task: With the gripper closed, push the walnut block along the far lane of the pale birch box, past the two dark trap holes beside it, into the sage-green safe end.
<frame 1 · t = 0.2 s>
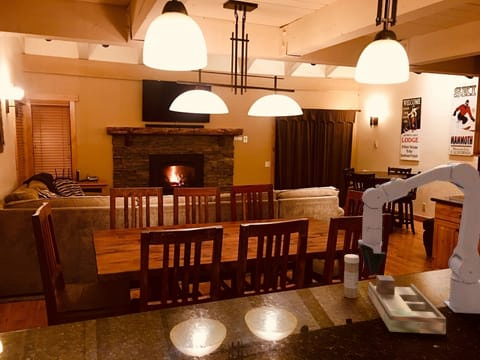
hand: (371, 270, 123), 10 cm above the countertop, tool pointing down, fingers open, 7 cm apart
sprinkles bottle: (350, 296, 128), on the countertop
walnut block: (385, 291, 124), point 3 cm above the countertop, touching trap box
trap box: (402, 312, 116), on the countertop
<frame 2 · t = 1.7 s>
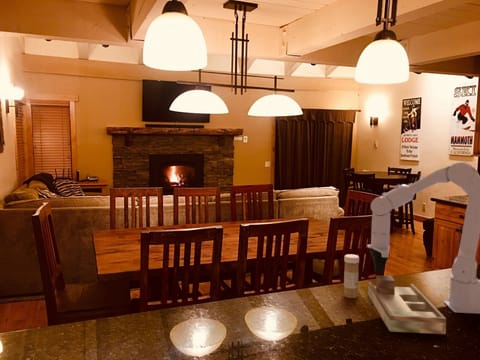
hand: (378, 272, 131), 7 cm above the countertop, tool pointing down, fingers closed
nothing on the countertop moved.
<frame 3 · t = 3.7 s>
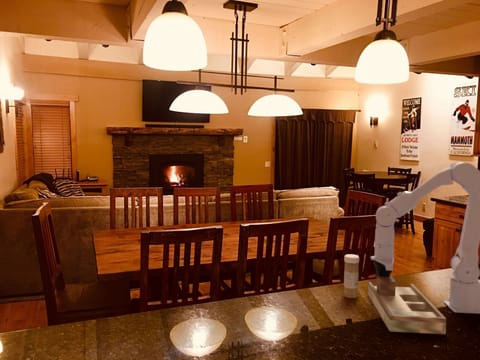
hand: (382, 285, 126), 4 cm above the countertop, tool pointing down, fingers closed
walnut block: (385, 292, 123), point 3 cm above the countertop, touching gripper
everything else where it was.
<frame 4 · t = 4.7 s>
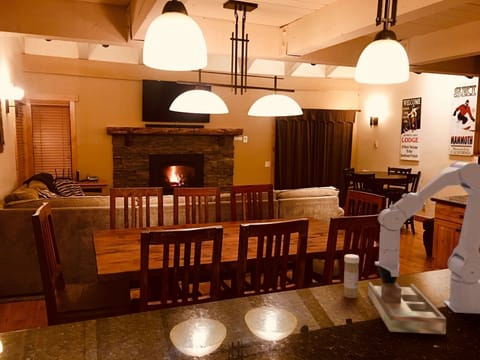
hand: (387, 292, 120), 4 cm above the countertop, tool pointing down, fingers closed
walnut block: (390, 300, 117), point 3 cm above the countertop, touching gripper, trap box
everything else where it was.
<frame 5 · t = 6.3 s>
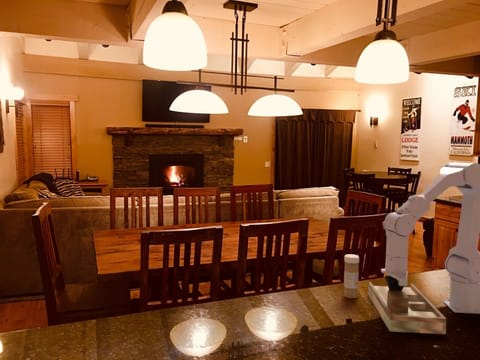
hand: (394, 301, 113), 4 cm above the countertop, tool pointing down, fingers closed, pressing on walnut block
walnut block: (397, 309, 110), point 3 cm above the countertop, touching gripper, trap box
everything else where it was.
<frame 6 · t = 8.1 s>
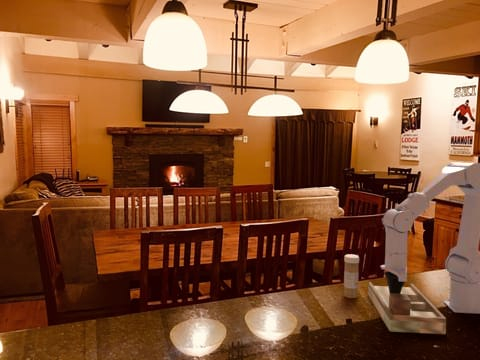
hand: (394, 297, 114), 5 cm above the countertop, tool pointing down, fingers closed
walnut block: (399, 312, 108), point 3 cm above the countertop, touching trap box
everything else where it was.
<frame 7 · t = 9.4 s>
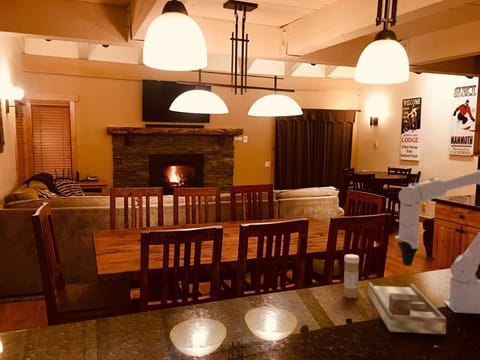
hand: (407, 265, 127), 10 cm above the countertop, tool pointing down, fingers closed
nothing on the countertop moved.
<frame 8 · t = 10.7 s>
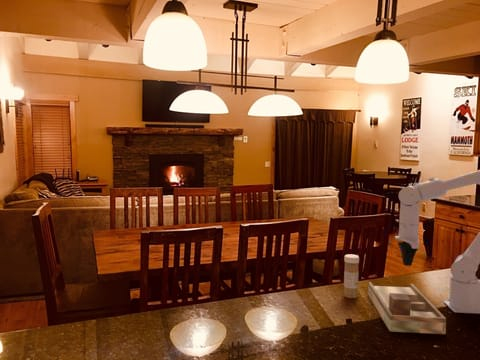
hand: (407, 265, 127), 10 cm above the countertop, tool pointing down, fingers closed
nothing on the countertop moved.
at the end: walnut block 1.3 cm from the target spot, point 3.0 cm above the countertop; walnut block tilted 0° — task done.
